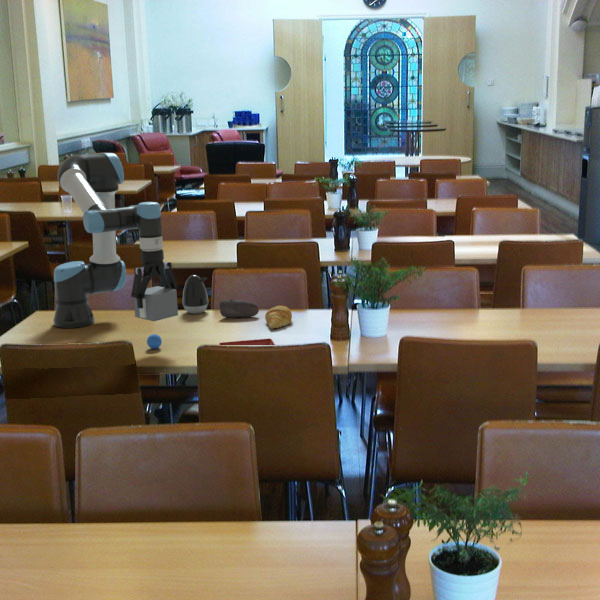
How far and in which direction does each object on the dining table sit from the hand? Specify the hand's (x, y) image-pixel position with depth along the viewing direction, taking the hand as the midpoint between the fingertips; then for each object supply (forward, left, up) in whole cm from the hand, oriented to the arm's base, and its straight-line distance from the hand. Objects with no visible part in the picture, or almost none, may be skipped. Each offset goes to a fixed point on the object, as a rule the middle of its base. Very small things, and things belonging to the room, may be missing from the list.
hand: (156, 314), depth 293 cm
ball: (-2, 0, -10) cm, 10 cm away
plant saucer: (+30, +14, -13) cm, 36 cm away
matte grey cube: (0, 0, -1) cm, 1 cm away
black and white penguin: (-30, +42, -13) cm, 53 cm away
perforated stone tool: (-10, +47, -13) cm, 50 cm away
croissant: (+8, +50, -13) cm, 52 cm away
